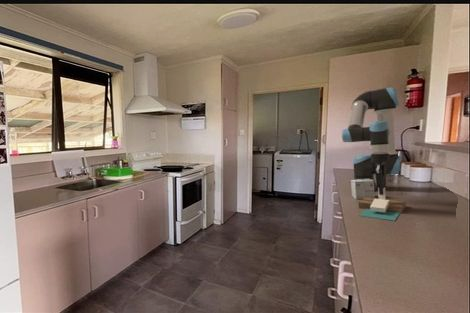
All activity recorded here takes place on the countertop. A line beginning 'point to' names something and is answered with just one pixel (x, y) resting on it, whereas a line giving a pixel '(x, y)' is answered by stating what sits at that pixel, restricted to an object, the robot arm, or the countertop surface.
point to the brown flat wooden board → (392, 207)
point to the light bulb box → (362, 188)
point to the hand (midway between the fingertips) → (382, 200)
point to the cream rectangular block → (379, 205)
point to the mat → (380, 215)
